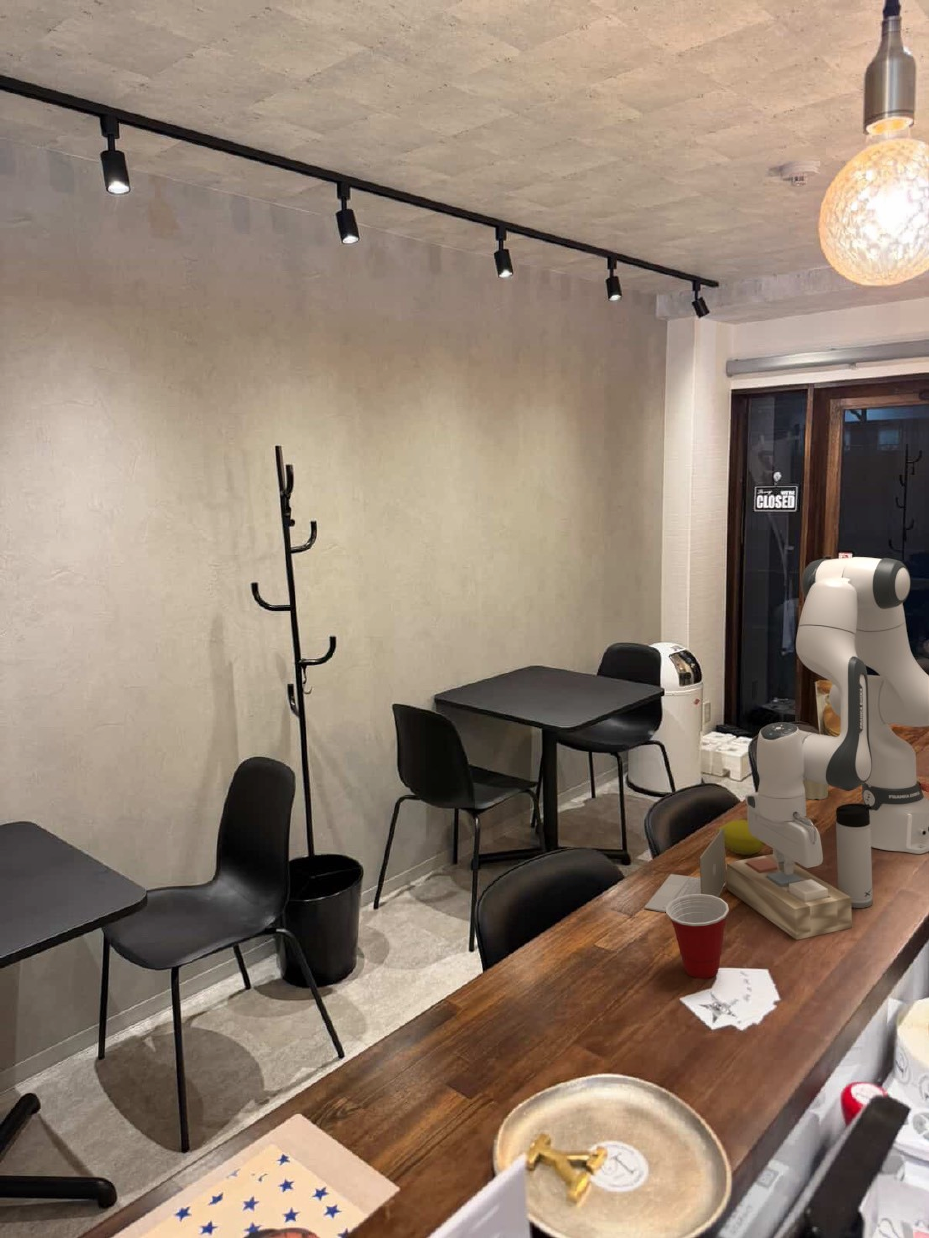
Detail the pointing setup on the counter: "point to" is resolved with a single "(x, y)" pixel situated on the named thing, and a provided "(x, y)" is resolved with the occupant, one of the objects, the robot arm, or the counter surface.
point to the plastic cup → (699, 931)
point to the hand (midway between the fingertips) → (785, 871)
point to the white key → (808, 890)
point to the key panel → (789, 901)
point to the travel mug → (854, 853)
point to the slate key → (783, 878)
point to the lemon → (740, 838)
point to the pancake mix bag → (826, 710)
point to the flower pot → (815, 790)
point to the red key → (762, 865)
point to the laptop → (706, 884)
